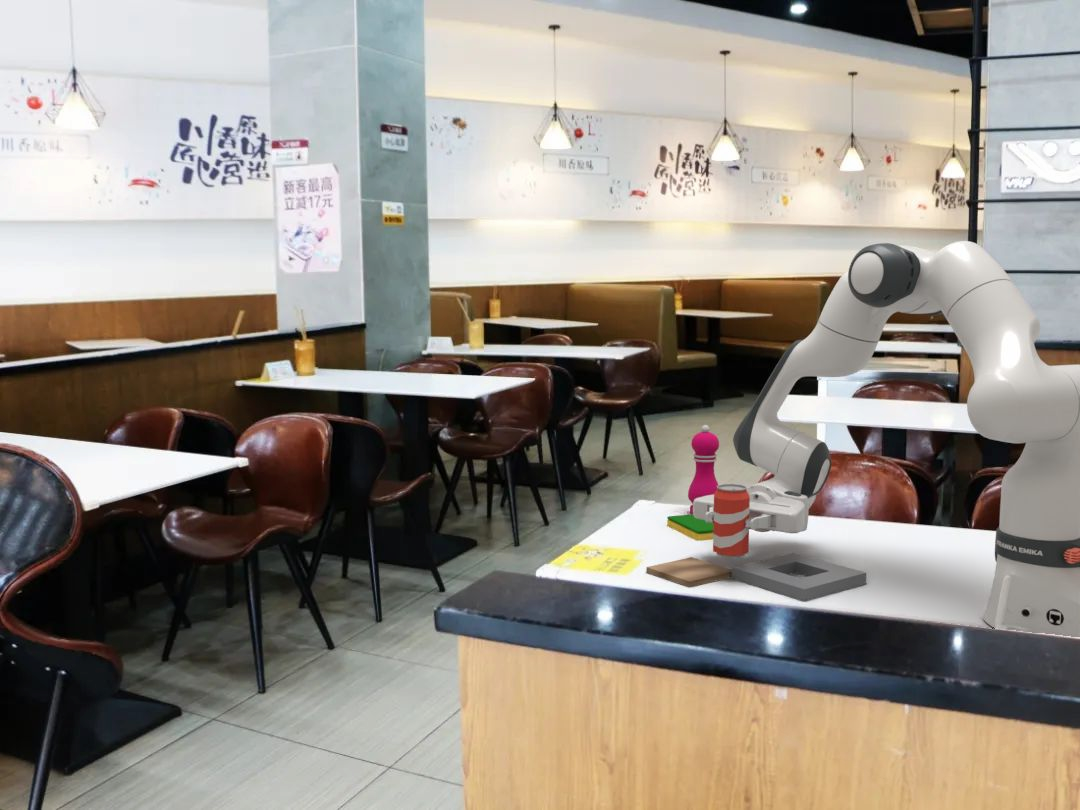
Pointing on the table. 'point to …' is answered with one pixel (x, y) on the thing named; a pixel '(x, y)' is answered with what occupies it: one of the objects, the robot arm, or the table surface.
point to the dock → (776, 577)
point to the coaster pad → (690, 572)
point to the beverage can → (731, 521)
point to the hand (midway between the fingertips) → (728, 521)
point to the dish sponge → (691, 526)
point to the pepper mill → (703, 465)
